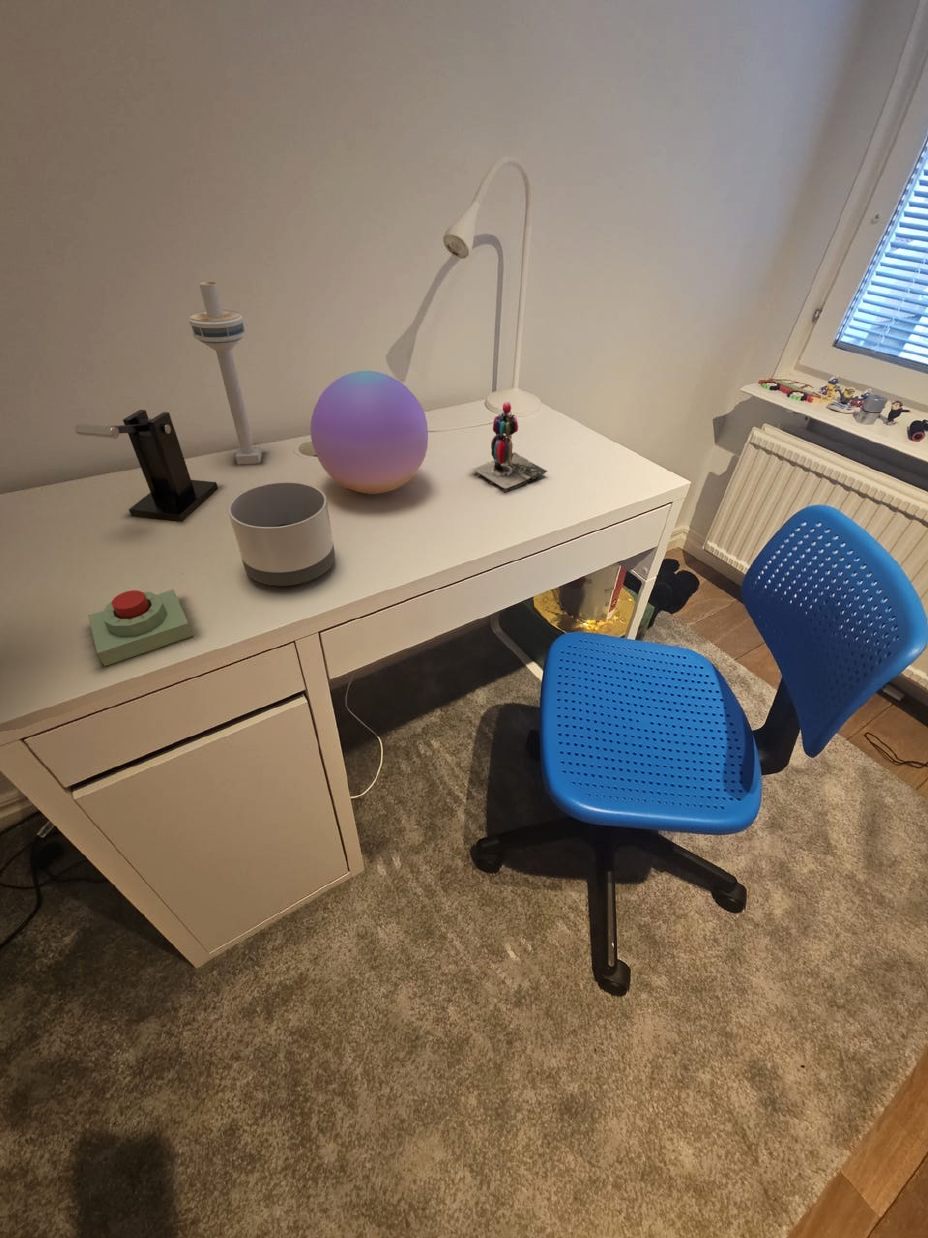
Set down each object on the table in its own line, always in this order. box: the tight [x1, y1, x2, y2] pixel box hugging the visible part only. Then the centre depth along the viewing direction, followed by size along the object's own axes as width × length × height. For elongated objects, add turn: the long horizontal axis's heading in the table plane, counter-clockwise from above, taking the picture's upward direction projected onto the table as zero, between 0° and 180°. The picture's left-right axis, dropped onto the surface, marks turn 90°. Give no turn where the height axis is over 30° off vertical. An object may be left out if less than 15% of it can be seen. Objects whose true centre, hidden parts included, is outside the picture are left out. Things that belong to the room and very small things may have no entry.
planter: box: [227, 481, 336, 587], centre depth 76 cm, size 13×13×10 cm
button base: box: [87, 589, 194, 667], centre depth 67 cm, size 10×8×4 cm
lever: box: [74, 417, 152, 439], centre depth 80 cm, size 13×6×2 cm, turn 171°
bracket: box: [122, 409, 219, 522], centre depth 88 cm, size 12×9×15 cm
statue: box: [473, 401, 548, 494], centre depth 100 cm, size 11×9×15 cm
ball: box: [309, 370, 429, 495], centre depth 93 cm, size 20×20×20 cm
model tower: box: [188, 281, 263, 465], centre depth 97 cm, size 8×8×30 cm
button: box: [111, 589, 150, 619], centre depth 65 cm, size 4×4×2 cm
